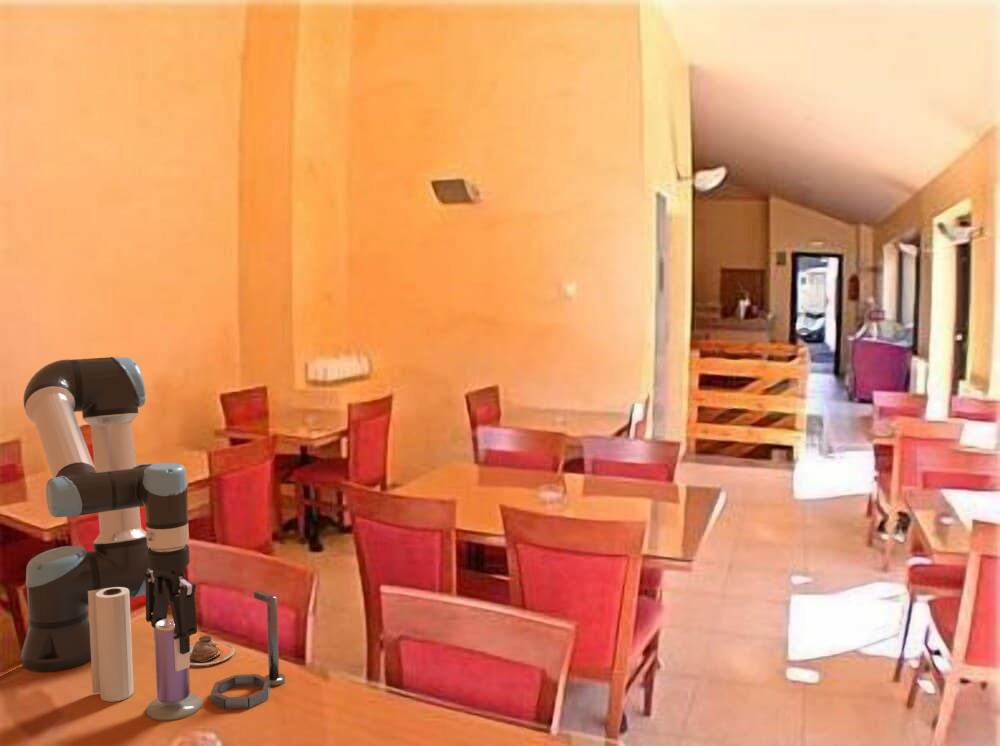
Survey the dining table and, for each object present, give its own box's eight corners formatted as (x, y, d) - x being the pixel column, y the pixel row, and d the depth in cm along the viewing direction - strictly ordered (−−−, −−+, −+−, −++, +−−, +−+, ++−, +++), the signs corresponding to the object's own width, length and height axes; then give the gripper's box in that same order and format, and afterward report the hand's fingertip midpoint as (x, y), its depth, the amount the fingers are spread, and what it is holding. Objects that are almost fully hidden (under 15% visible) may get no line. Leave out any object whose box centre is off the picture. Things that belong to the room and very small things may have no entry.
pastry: (165, 661, 197) (164, 640, 197) (211, 642, 207) (210, 623, 207) (200, 674, 191) (200, 653, 190) (246, 655, 201) (245, 634, 200)
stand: (201, 698, 179) (198, 609, 177) (266, 671, 192) (263, 588, 190) (235, 714, 173) (232, 623, 171) (299, 685, 185) (297, 599, 183)
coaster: (135, 710, 174) (135, 706, 174) (182, 691, 182) (182, 688, 182) (165, 726, 168) (165, 722, 168) (212, 705, 176) (212, 702, 176)
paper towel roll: (139, 695, 180) (134, 590, 178) (108, 705, 176) (103, 598, 174) (122, 684, 185) (118, 582, 183) (92, 694, 181) (87, 589, 179)
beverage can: (179, 706, 171) (176, 630, 170) (150, 703, 173) (147, 627, 171) (196, 692, 177) (193, 618, 176) (168, 689, 178) (165, 615, 177)
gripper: (122, 541, 175) (127, 657, 177) (179, 560, 163) (183, 684, 166) (157, 532, 180) (162, 645, 183) (215, 550, 169) (219, 670, 171)
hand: (172, 663), depth 174 cm, fingers closed on beverage can, 6 cm apart
